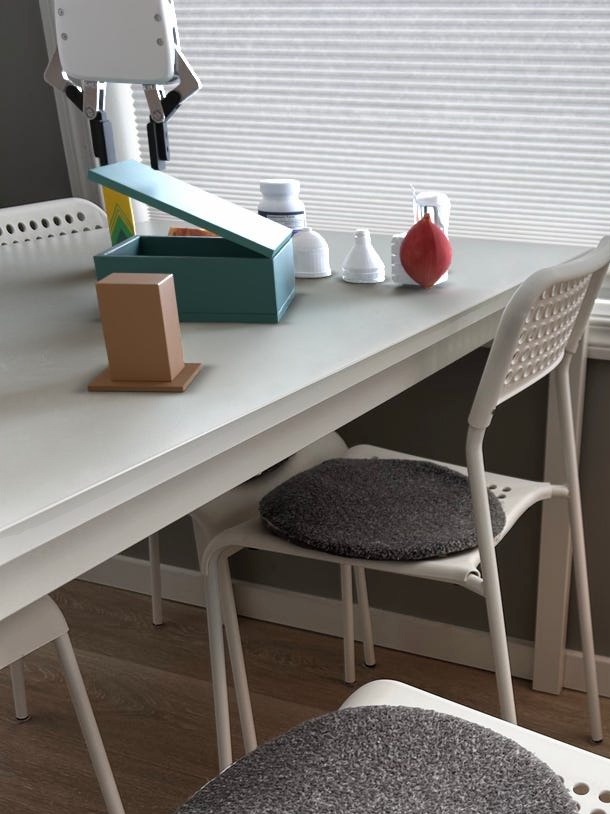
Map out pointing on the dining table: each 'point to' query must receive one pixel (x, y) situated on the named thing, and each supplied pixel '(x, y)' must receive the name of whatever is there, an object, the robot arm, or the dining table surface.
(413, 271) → the onion
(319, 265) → the container set
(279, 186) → the pill bottle
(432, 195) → the milkshake
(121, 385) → the mat
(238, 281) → the box
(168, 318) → the carton
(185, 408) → the dining table surface
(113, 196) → the crayon box
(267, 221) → the lunchbox lid
